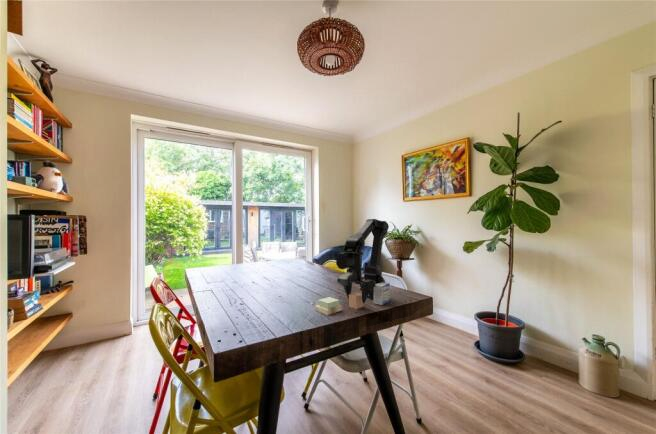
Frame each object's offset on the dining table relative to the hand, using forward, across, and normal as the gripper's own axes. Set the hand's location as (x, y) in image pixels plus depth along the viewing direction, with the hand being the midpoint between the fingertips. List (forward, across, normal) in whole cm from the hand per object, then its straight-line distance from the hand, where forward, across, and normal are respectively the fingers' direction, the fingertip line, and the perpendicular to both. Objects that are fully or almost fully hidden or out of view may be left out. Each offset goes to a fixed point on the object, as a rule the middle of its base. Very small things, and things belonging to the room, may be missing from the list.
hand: (356, 300), depth 116 cm
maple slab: (+3, -5, -12) cm, 13 cm away
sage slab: (+1, -5, -12) cm, 13 cm away
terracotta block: (+3, 0, 0) cm, 3 cm away
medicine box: (+3, +4, +12) cm, 13 cm away
